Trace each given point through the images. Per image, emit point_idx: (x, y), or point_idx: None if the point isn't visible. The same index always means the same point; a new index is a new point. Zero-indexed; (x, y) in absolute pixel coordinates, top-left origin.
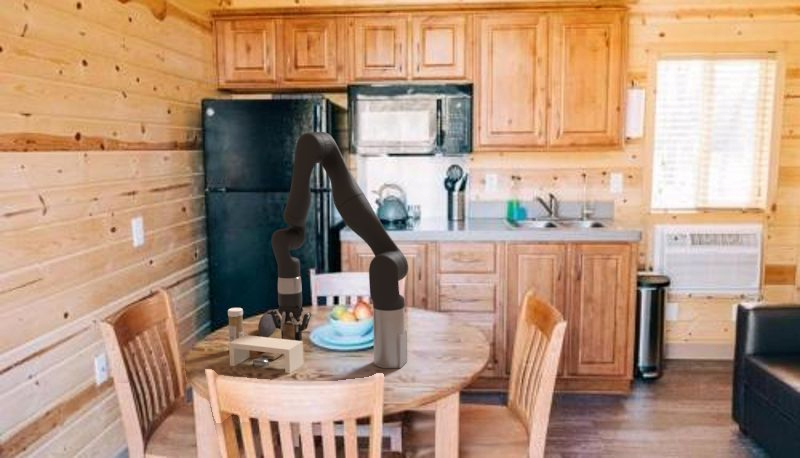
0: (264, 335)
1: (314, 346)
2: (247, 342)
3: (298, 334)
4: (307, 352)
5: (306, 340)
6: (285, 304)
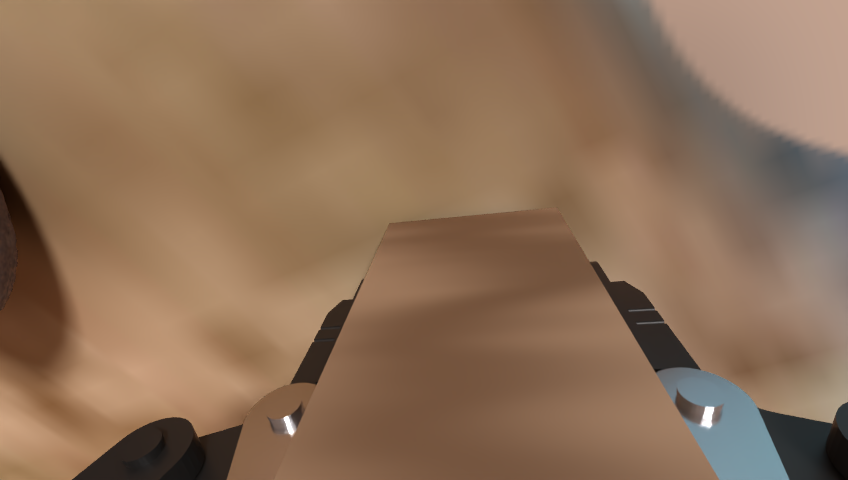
0: (10, 267)
1: (796, 202)
2: None
3: None
4: (775, 395)
5: (551, 12)
6: None
